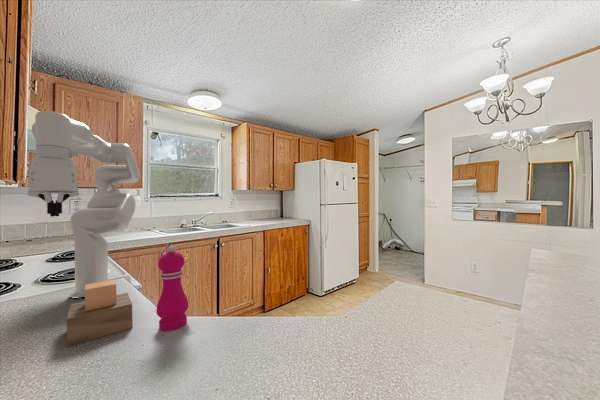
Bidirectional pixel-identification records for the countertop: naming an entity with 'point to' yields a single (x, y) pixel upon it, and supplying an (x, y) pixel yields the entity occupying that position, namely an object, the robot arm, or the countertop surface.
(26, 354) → the countertop surface
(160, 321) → the pepper mill
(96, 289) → the cardboard-colored cube
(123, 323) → the post block
